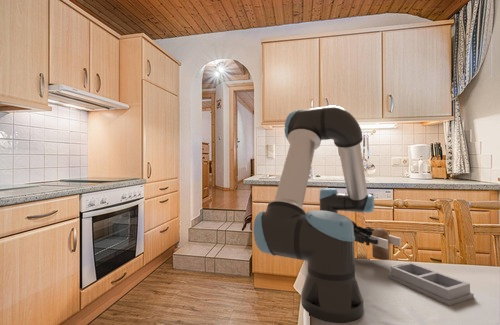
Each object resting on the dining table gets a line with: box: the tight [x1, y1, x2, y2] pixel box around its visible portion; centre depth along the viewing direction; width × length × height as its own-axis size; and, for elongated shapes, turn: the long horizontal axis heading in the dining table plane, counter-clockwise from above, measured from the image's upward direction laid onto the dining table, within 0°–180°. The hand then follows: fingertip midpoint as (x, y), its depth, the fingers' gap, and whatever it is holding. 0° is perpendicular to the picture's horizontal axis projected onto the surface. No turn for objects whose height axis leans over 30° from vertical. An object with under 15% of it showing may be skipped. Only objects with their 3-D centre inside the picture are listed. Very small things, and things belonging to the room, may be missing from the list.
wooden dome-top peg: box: [371, 227, 390, 261], centre depth 90 cm, size 5×5×10 cm
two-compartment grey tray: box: [388, 262, 475, 306], centre depth 75 cm, size 18×10×4 cm, turn 21°
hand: (393, 243), depth 85 cm, fingers closed on wooden dome-top peg, 5 cm apart
